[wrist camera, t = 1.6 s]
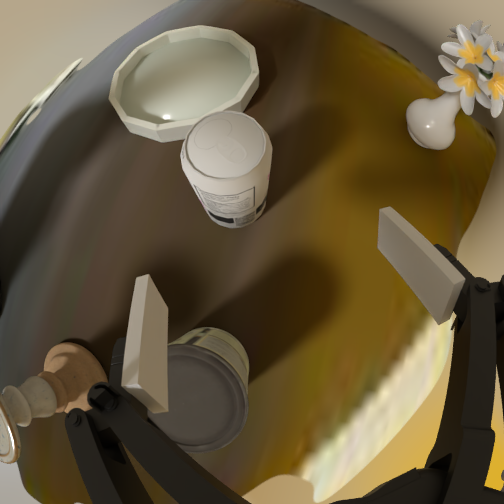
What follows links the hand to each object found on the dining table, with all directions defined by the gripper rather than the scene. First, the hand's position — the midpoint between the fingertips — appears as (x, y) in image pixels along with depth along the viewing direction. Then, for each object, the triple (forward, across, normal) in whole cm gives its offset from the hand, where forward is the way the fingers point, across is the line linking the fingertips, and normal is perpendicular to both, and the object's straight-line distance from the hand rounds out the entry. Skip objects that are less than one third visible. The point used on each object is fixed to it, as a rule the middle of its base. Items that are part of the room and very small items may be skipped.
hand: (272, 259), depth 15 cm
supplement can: (+23, -1, -7) cm, 24 cm away
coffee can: (+9, -10, -21) cm, 25 cm away
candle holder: (+10, -31, -20) cm, 38 cm away
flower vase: (+26, +32, -5) cm, 42 cm away
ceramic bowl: (+39, -3, +10) cm, 40 cm away
